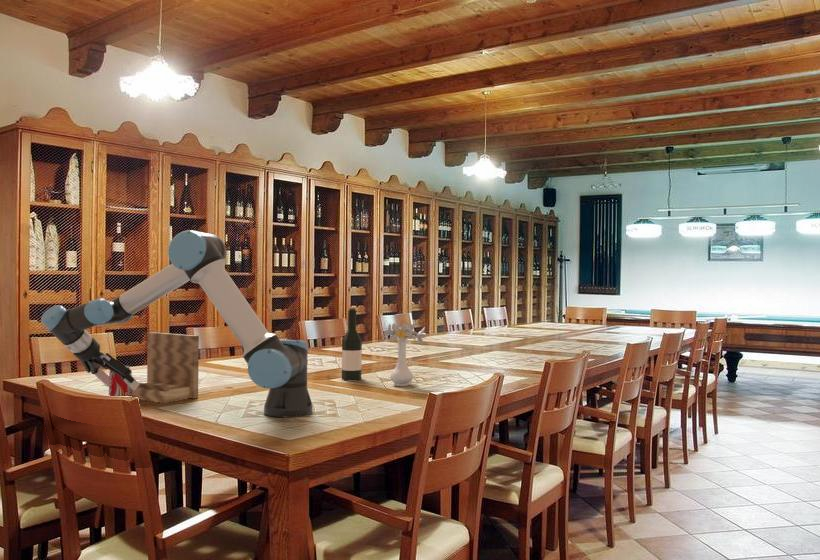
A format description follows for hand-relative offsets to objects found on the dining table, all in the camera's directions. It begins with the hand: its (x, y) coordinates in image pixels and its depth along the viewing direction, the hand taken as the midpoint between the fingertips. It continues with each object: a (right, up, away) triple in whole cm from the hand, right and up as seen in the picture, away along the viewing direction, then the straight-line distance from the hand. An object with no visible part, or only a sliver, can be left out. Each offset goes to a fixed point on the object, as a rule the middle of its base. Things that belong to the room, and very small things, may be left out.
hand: (123, 385), depth 217 cm
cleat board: (+10, -6, +7) cm, 13 cm away
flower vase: (+95, -7, +40) cm, 103 cm away
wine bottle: (+73, -6, +53) cm, 90 cm away
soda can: (0, -6, -1) cm, 6 cm away
